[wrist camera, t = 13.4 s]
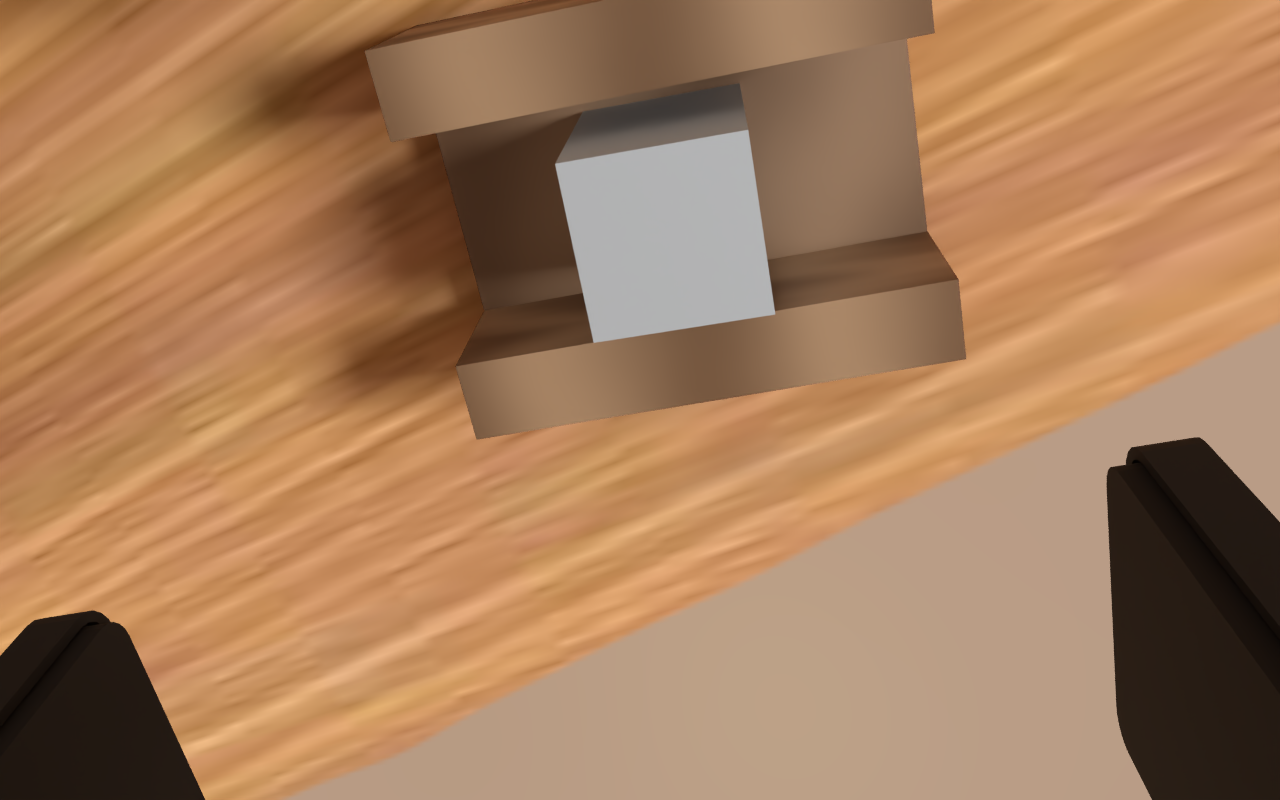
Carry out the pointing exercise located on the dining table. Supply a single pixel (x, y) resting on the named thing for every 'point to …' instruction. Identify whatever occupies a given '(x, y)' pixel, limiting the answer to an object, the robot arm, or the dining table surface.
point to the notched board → (785, 178)
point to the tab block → (665, 214)
